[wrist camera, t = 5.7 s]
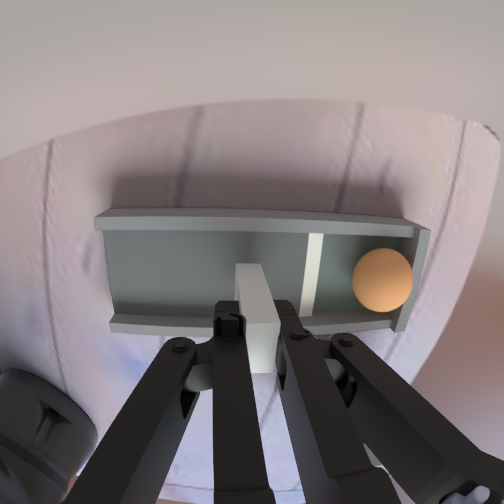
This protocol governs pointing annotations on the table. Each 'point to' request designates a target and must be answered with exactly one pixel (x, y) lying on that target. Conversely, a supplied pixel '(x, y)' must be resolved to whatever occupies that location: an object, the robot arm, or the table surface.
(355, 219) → the lane
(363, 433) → the robot arm
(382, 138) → the table surface
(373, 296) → the ball
